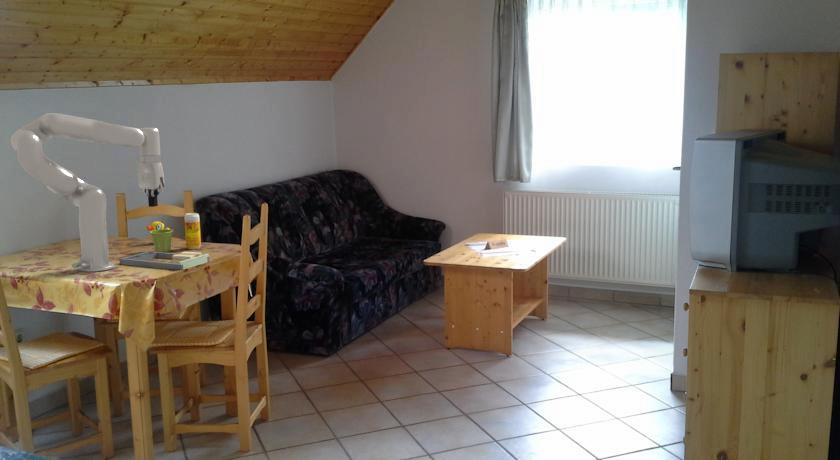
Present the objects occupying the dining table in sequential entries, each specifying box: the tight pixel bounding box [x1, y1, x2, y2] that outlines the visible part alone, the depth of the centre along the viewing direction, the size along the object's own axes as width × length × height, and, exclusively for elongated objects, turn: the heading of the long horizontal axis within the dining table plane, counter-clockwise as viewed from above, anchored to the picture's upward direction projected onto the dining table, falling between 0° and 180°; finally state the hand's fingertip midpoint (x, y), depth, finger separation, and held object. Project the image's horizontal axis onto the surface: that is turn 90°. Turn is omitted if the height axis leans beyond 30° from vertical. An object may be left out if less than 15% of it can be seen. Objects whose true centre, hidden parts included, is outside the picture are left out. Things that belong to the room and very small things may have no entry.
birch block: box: [171, 251, 203, 264], centre depth 298 cm, size 8×8×4 cm
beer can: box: [184, 212, 202, 250], centre depth 328 cm, size 6×6×15 cm
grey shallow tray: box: [119, 250, 210, 271], centre depth 300 cm, size 16×30×3 cm, turn 67°
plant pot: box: [149, 228, 174, 253], centre depth 322 cm, size 9×9×9 cm
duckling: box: [146, 221, 170, 242], centre depth 340 cm, size 11×5×10 cm, turn 140°
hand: (153, 206), depth 301 cm, fingers closed
